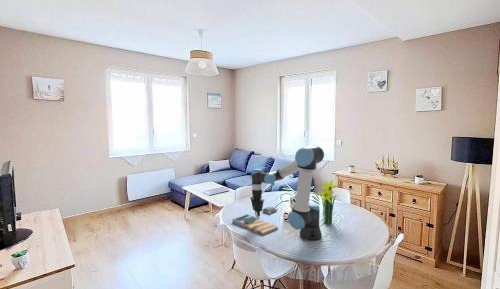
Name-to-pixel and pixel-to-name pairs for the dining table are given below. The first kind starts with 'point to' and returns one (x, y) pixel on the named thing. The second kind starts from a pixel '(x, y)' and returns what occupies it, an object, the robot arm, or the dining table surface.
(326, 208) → the daffodil flowers
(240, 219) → the tray
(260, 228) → the slatted wooden board
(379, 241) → the dining table surface
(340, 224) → the dining table surface
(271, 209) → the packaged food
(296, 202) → the robot arm
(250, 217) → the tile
